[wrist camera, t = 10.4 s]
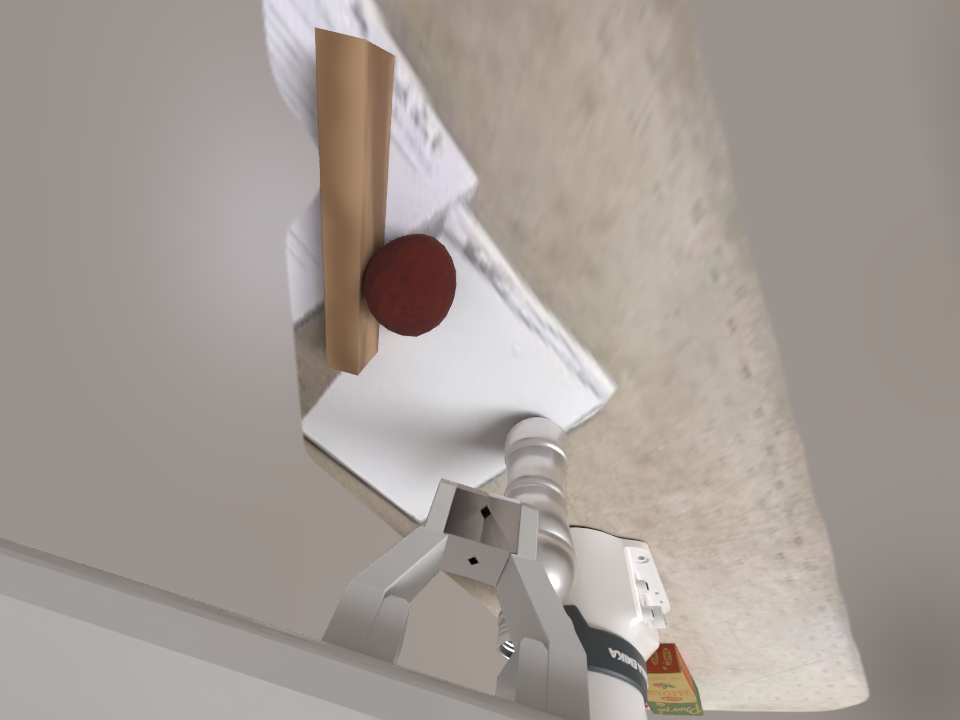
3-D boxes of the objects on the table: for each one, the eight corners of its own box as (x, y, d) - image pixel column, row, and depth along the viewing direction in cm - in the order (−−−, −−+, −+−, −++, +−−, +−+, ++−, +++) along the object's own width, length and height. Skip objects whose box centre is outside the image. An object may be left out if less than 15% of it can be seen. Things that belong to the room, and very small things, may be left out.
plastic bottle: (499, 414, 38) (456, 625, 22) (561, 403, 36) (568, 628, 19) (517, 457, 41) (491, 674, 24) (576, 449, 39) (593, 680, 22)
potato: (481, 252, 30) (464, 278, 24) (440, 328, 34) (417, 367, 29) (403, 205, 29) (365, 221, 23) (371, 290, 34) (333, 321, 28)
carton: (675, 640, 56) (683, 674, 53) (697, 685, 62) (706, 719, 59) (621, 642, 59) (625, 674, 56) (647, 685, 66) (653, 716, 62)
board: (394, 55, 24) (364, 39, 20) (377, 351, 37) (357, 375, 33) (352, 45, 24) (314, 27, 20) (350, 344, 37) (327, 366, 33)
